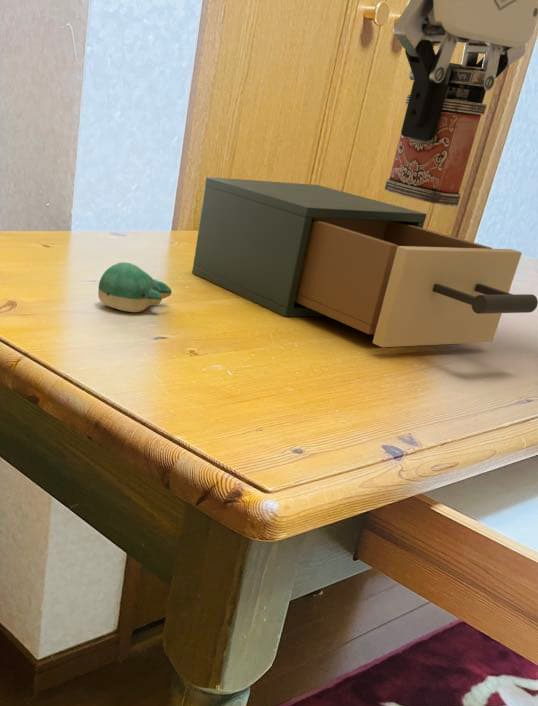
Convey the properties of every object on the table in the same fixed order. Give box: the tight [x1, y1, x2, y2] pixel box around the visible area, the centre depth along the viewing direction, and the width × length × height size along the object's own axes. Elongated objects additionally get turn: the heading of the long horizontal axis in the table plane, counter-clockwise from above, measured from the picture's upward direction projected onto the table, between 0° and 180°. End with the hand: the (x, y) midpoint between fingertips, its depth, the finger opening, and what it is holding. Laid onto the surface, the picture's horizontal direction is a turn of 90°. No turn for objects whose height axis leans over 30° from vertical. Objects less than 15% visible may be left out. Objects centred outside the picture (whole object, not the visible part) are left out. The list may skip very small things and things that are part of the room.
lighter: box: [384, 62, 487, 207], centre depth 69 cm, size 8×3×10 cm, turn 22°
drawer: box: [295, 217, 538, 348], centre depth 74 cm, size 21×13×8 cm, turn 28°
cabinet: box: [191, 176, 427, 318], centre depth 85 cm, size 17×15×10 cm
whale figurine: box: [97, 262, 172, 313], centre depth 74 cm, size 6×7×4 cm
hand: (435, 137), depth 69 cm, fingers closed on lighter, 3 cm apart
